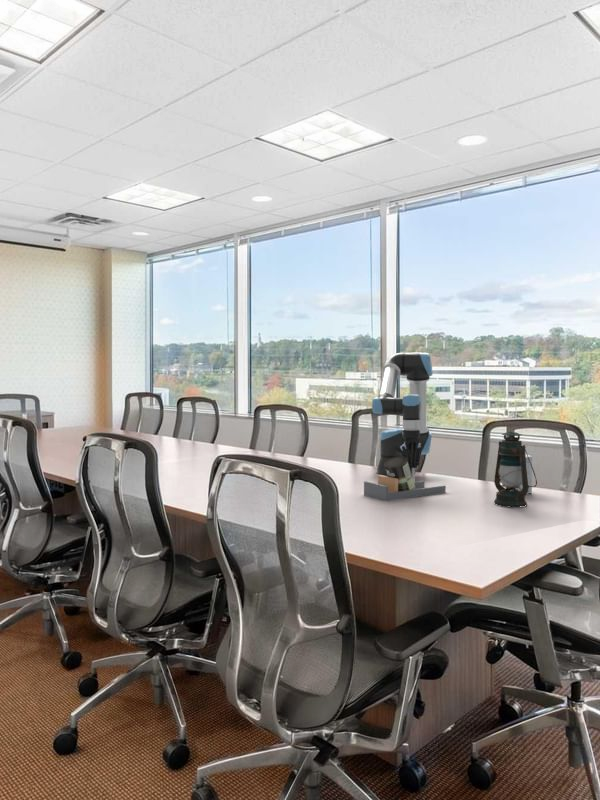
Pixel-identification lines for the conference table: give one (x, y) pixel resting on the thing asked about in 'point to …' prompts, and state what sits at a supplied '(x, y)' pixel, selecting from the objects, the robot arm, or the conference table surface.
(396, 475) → the coffee can
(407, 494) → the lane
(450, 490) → the conference table surface
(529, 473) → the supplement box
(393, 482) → the block
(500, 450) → the lantern
